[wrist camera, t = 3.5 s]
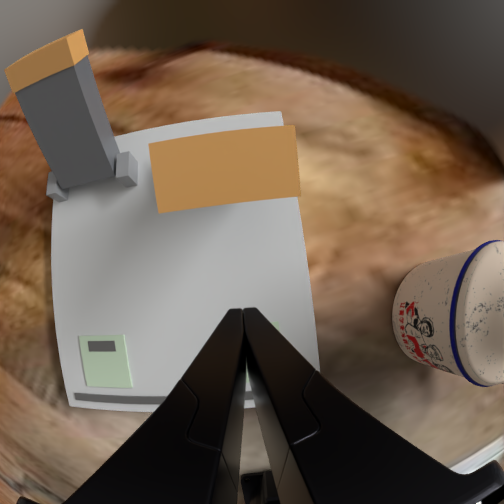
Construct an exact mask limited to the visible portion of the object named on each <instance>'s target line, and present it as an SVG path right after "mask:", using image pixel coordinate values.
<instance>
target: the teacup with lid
mask: <svg viewBox="0 0 504 504" xmlns="http://www.w3.org/2000/svg"><path fill="white" fill-rule="evenodd" d="M392 323H393V330H394V334H395V337H396V340H397V342H398V344H399V346H400V348H401V349H402V350H403V352H404V353H405V354H406V355H407V356H408V357H410V358H411V359H413V360H414V361H417V362H419V363H422V364H425V365H428V366H431V367H434V368H437V369H440V370H443V371H446V372H449V373H452V374H455V375H458V376H462V377H465V378H466V379H467V380H468V381H469V382H471V383H472V384H474V385H477V386H481V387H489V386H493V385H498V384H500V383H502V384H504V241H500V240H493V241H488V242H486V243H484V244H482V245H480V246H479V247H478V248H476V249H474V250H471V251H467V252H463V253H459V254H456V255H452V256H448V257H444V258H440V259H436V260H432V261H428V262H425V263H422V264H420V265H418V266H417V267H415V268H414V269H413V270H411V271H410V272H409V273H408V274H407V276H406V277H405V278H404V280H403V281H402V283H401V284H400V286H399V288H398V291H397V293H396V296H395V299H394V304H393V310H392Z"/></svg>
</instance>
